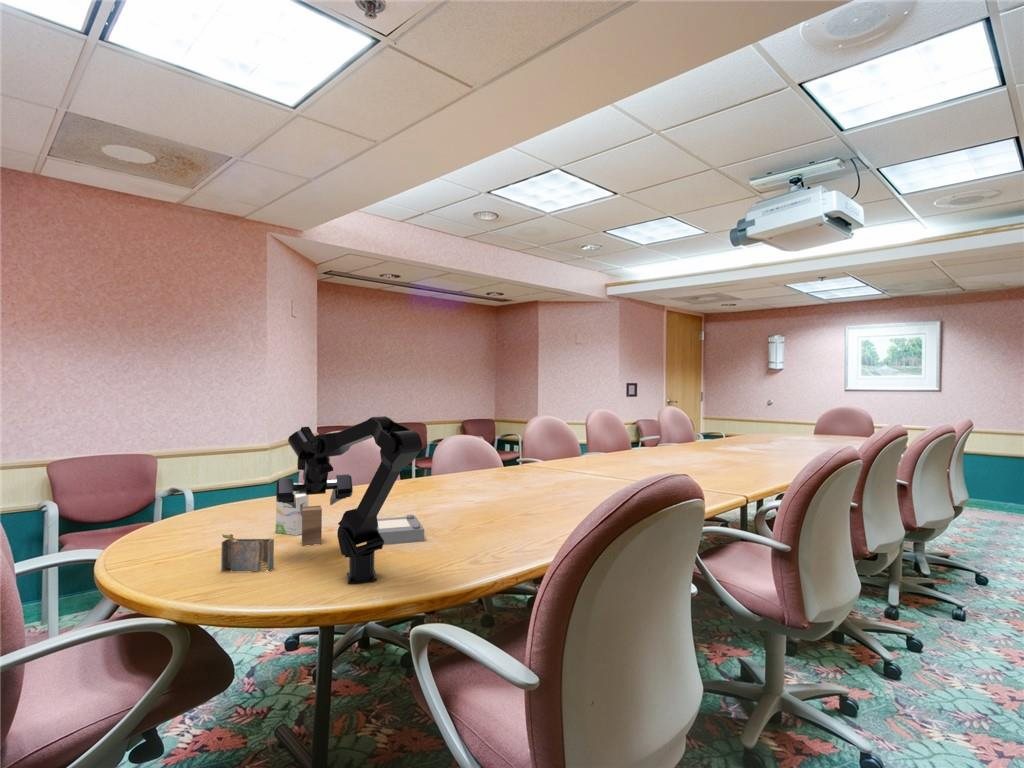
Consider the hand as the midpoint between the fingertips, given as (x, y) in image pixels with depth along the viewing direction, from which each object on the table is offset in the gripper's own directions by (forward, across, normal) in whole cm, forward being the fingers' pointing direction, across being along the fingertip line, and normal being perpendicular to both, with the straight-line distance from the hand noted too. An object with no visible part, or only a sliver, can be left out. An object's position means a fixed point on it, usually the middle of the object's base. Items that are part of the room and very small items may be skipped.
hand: (313, 505), depth 144 cm
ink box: (+23, +5, -5) cm, 24 cm away
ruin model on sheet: (+1, +16, +17) cm, 23 cm away
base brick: (+12, -23, +5) cm, 26 cm away
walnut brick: (+13, 0, +4) cm, 14 cm away
